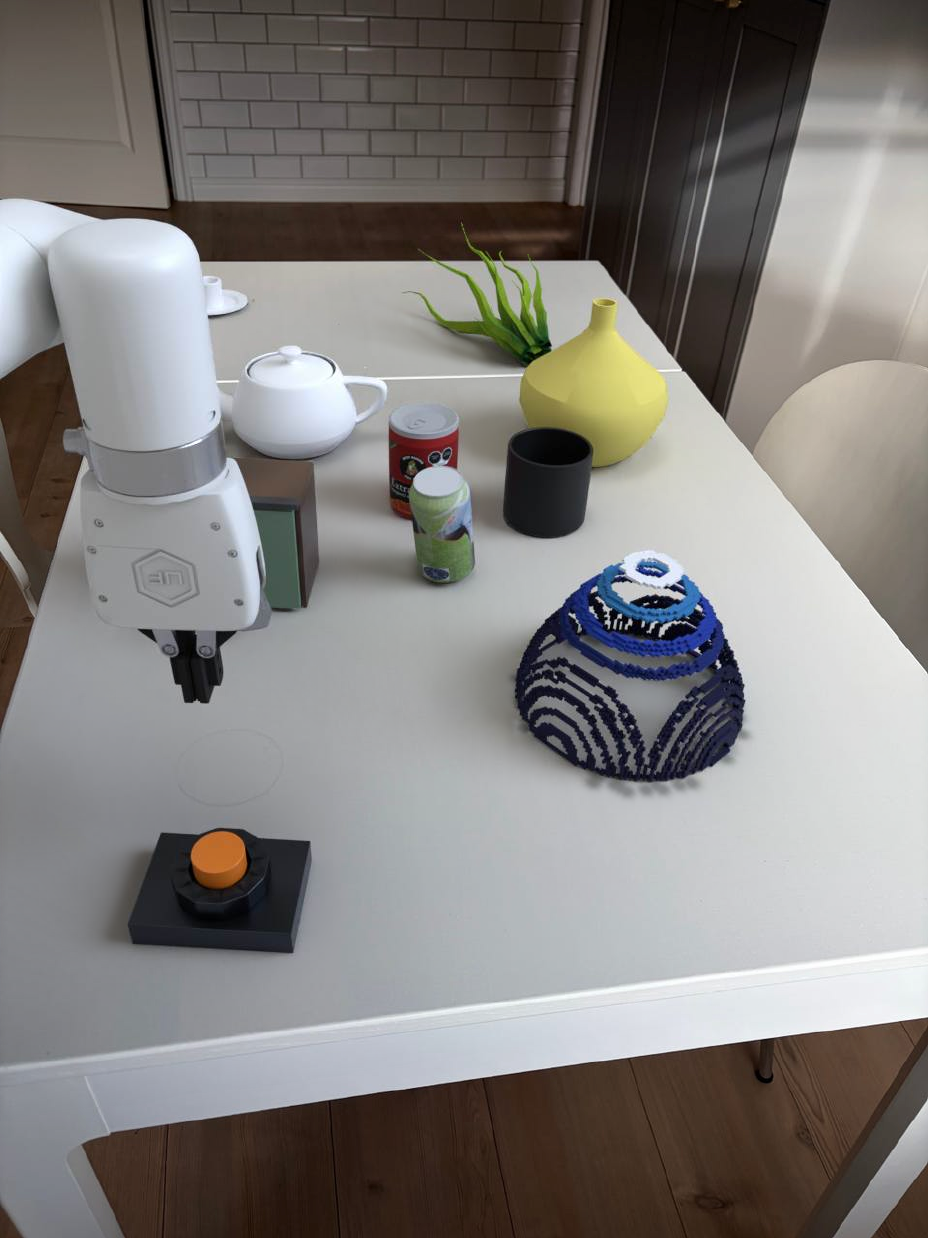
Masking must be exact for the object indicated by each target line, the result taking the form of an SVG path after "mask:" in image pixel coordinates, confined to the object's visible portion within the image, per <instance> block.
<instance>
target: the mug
mask: <svg viewBox="0 0 928 1238" xmlns="http://www.w3.org/2000/svg"><path fill="white" fill-rule="evenodd" d="M506 449H507V450H506V463H505V476H504V491H503V502H502V503H503V505H502V515H503V518H504V520H505V521H506V523H507V524H508V525H509V526H511V527H512V528H513V529H514V530H516V531H518V532H521V533H523V534H526V535H529V536H532V537H539V538H557V537H558V538H559V537H564V536H568V535H570V534H572V533H575V532H576V531H577V530H579V529H580V528H581V527H582V525H583V523H584V521H585V519H586V511H587V505H588V497H589V489H590V482H591V475H592V468H593V467H592V460H593V453H594V451H593V446H592V444H591V443H590V442H589V441H588V440H587V439H586V438H585V437H583V436H581V435H579V434H577V433H575V432H572V431H569V430H565V429H560V428H552V427H536V428H530V429H529V428H525V429H522V430H520V431H517V432H515V433H514V434H513V435H512V436H511V437H510V438H509V439H508V442H507V448H506Z"/></svg>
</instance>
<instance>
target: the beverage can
mask: <svg viewBox="0 0 928 1238" xmlns="http://www.w3.org/2000/svg"><path fill="white" fill-rule="evenodd" d="M471 500H472V499H471V489H470V486H469V484H468V482H467V481H466V479H465V478H464V477H463V474H462V472H460V471H459V470H458V469H457V470H456V469H454V468H452V467H448V466H434V467H429V468H426V469H424V470H422V471H421V472H419V473H418V474H417V475H416V476H415V478H414V480H413V484H412V486H411V488H410V490H409V501H410V509H411V517H412V519H411V524H412V532H413V539H414V548H415V555H416V563H417V569H418V571H419V573H420V574H421V575H422V576H423V577H424V578H426V580H429V581H432V582H436V583H442V584H447V583H448V584H449V583H454V582H457V581H460V580H462V579H464V578H466V577H467V576H468V575H469V574H471V572H472V571H473V570H474V568H475V566H476V557H475V541H474V527H473V526H474V525H473V513H472V512H473V511H472V501H471Z"/></svg>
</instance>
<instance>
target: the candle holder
mask: <svg viewBox="0 0 928 1238" xmlns="http://www.w3.org/2000/svg"><path fill="white" fill-rule="evenodd" d="M202 276H203V275H202ZM203 284H204V291H205V298H206V306H207V313H208V316H219V315H225V314H229V313H233V312H236V311H239V310H241V309H243V308H244V307H246V306H247V304H248V302H249V299H248V297H247V296H246V295H245V294H244V293H242V292H239V291H236V290H232V289H226V288H223V284H222V279H221V278H220V277H218V276H215V275H204V276H203Z"/></svg>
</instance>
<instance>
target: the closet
mask: <svg viewBox="0 0 928 1238" xmlns="http://www.w3.org/2000/svg"><path fill="white" fill-rule="evenodd" d="M227 458H232V459H234V460H235V461H236V462H237V464H238V467H239V469H240V471H241V474H242V477H243V479H244V482H245V485H246V488H247V491H248V494H249V497H250V500H251V503H252V507H253V508H267V509H286V510H294V517H295V530H296V544H297V557H298V571H299V584H300V598H301V607H300V608H307V607H308V604H309V600H310V597H311V593H312V590H313V587H314V583H315V579H316V576H317V573H318V568H319V564H320V549H319V548H320V547H319V533H318V532H319V531H318V515H317V500H316V482H315V480H316V479H315V464H314V463H315V462H314V461H309V460H308V461H307V460H305V461H304V460H292V459H271V458H269V459H268V458H251V457H235V456H234V457H233V456H227Z"/></svg>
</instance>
